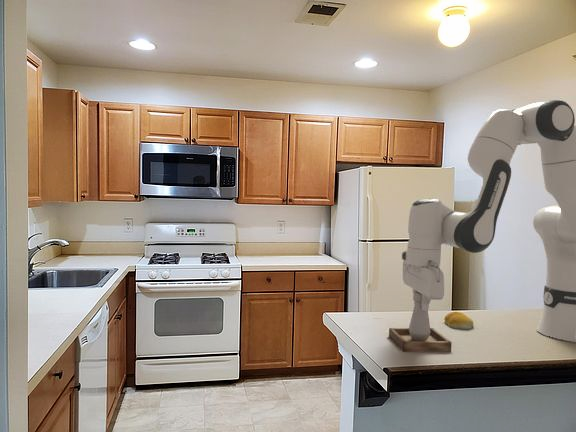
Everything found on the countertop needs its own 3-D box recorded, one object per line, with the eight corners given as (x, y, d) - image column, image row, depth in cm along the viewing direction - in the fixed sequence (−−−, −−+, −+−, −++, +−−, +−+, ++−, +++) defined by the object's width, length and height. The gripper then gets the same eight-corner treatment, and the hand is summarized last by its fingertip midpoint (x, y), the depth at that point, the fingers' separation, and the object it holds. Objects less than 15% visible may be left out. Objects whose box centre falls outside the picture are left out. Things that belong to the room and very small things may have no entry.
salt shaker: (430, 343, 123) (433, 296, 122) (408, 341, 124) (411, 294, 123) (428, 336, 128) (431, 291, 127) (407, 334, 129) (410, 289, 129)
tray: (432, 336, 133) (432, 327, 133) (451, 351, 121) (451, 342, 121) (388, 336, 131) (389, 328, 131) (403, 351, 119) (404, 342, 119)
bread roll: (452, 330, 140) (453, 317, 139) (441, 321, 149) (441, 309, 148) (478, 330, 140) (479, 317, 140) (465, 321, 149) (466, 309, 149)
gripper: (452, 264, 114) (449, 318, 115) (420, 252, 135) (417, 298, 136) (428, 264, 114) (425, 318, 115) (399, 252, 134) (397, 298, 135)
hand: (421, 307), depth 125 cm, fingers closed on salt shaker, 3 cm apart
